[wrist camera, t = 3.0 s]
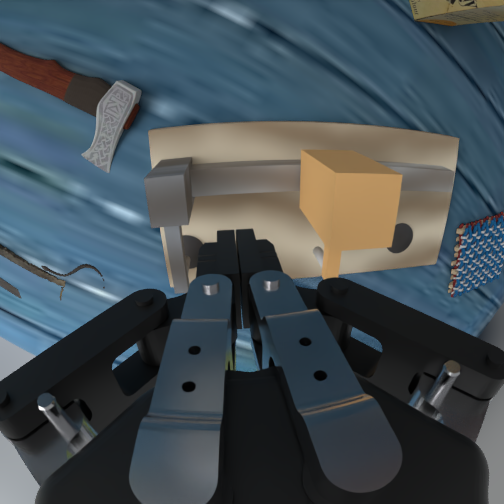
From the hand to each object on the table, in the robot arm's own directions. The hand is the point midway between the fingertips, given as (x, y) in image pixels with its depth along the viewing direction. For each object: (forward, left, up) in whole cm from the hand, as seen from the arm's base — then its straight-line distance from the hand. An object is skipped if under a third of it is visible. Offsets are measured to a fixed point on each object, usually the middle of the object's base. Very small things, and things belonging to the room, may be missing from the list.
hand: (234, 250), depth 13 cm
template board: (+3, +8, -13) cm, 16 cm away
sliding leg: (+2, +7, -11) cm, 13 cm away
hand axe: (-10, -19, -14) cm, 26 cm away
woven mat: (+10, +31, -14) cm, 35 cm away
